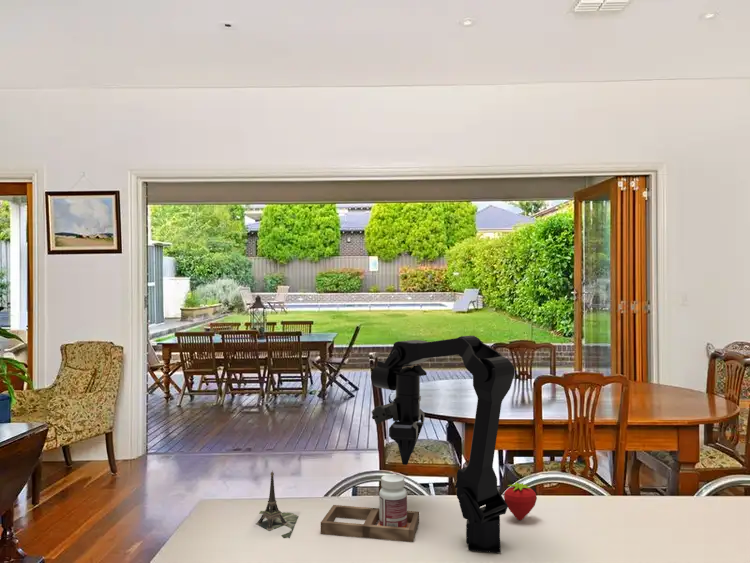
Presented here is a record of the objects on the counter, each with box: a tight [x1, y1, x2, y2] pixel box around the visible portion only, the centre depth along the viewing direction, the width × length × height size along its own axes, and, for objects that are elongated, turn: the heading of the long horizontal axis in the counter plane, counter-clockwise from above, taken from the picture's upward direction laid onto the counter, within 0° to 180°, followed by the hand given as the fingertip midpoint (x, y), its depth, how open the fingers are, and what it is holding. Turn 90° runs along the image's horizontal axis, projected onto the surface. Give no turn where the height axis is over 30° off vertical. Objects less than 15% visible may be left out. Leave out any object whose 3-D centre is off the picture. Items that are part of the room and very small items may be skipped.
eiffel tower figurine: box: [255, 471, 299, 539], centre depth 131 cm, size 15×10×13 cm
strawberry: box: [503, 479, 538, 521], centre depth 133 cm, size 6×8×10 cm
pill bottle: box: [378, 473, 408, 528], centre depth 127 cm, size 6×6×11 cm
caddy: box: [320, 504, 420, 543], centre depth 128 cm, size 20×10×2 cm, turn 79°
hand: (407, 458), depth 137 cm, fingers open, 9 cm apart
